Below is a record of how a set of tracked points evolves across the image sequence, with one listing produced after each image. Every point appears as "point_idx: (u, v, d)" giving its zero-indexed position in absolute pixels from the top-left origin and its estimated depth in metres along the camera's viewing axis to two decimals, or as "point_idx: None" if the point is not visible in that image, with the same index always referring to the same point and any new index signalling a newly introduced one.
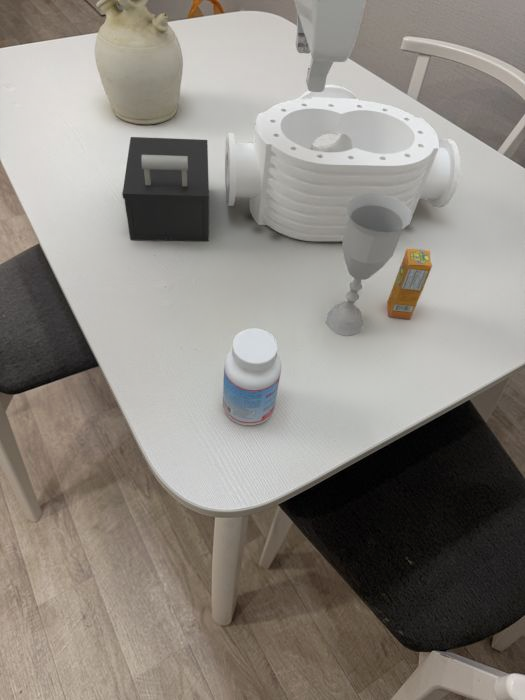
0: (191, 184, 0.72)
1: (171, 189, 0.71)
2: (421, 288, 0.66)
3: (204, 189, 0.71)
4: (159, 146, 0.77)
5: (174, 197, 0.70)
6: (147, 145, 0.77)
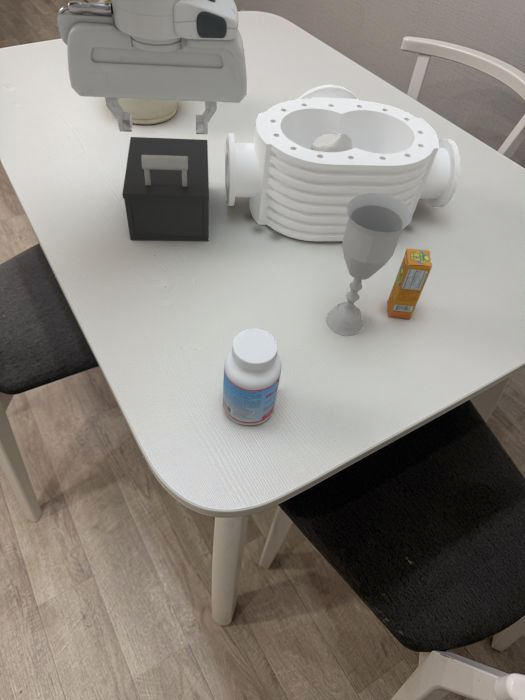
0: (191, 184, 0.72)
1: (171, 189, 0.71)
2: (421, 288, 0.66)
3: (204, 189, 0.71)
4: (159, 146, 0.77)
5: (174, 197, 0.70)
6: (147, 145, 0.77)
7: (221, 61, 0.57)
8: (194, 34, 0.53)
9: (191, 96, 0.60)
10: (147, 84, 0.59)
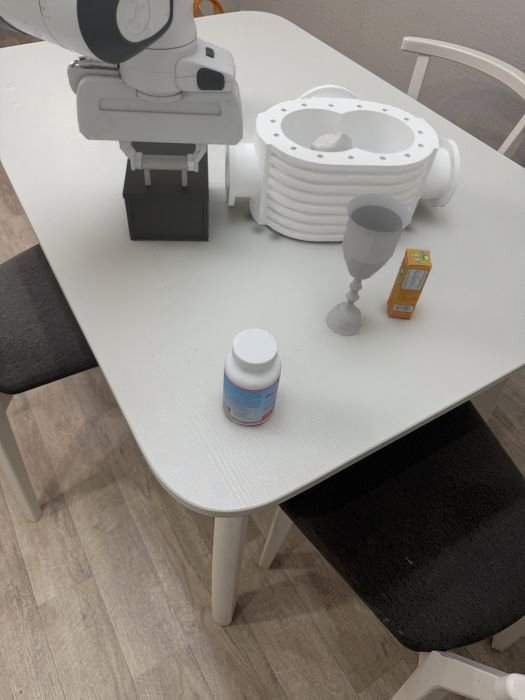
0: (191, 184, 0.72)
1: (171, 188, 0.71)
2: (421, 288, 0.66)
3: (205, 189, 0.71)
4: (159, 146, 0.77)
5: (174, 197, 0.70)
6: (147, 145, 0.77)
7: (219, 109, 0.62)
8: (194, 87, 0.58)
9: (191, 139, 0.64)
10: (150, 129, 0.63)
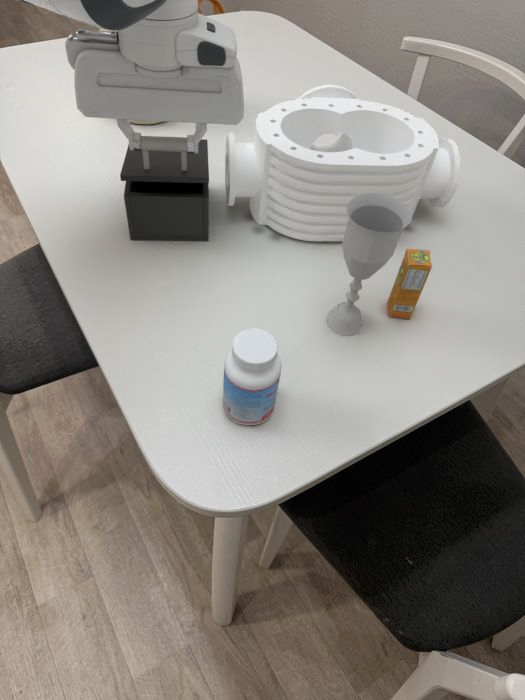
0: (191, 169, 0.70)
1: (170, 172, 0.69)
2: (421, 288, 0.66)
3: (205, 173, 0.70)
4: None
5: (173, 179, 0.68)
6: None
7: (220, 86, 0.61)
8: (195, 62, 0.57)
9: (191, 118, 0.63)
10: (149, 107, 0.62)
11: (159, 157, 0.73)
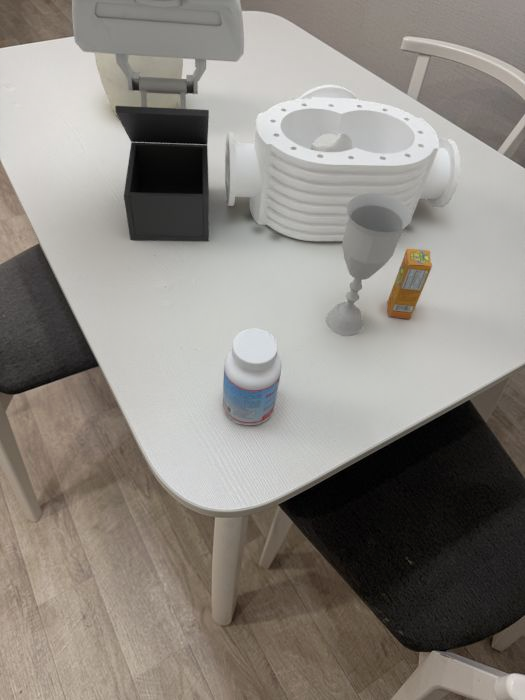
0: None
1: None
2: (421, 288, 0.66)
3: None
4: None
5: (171, 111, 0.65)
6: None
7: (220, 19, 0.60)
8: None
9: (190, 54, 0.62)
10: (148, 41, 0.61)
11: None
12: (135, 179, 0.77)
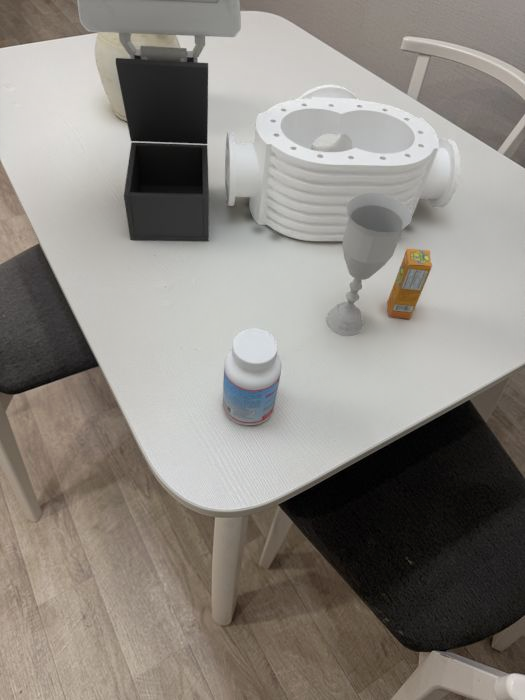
0: None
1: None
2: (421, 288, 0.66)
3: None
4: None
5: (171, 63, 0.65)
6: None
7: None
8: None
9: (190, 31, 0.65)
10: (149, 19, 0.64)
11: None
12: (135, 179, 0.77)
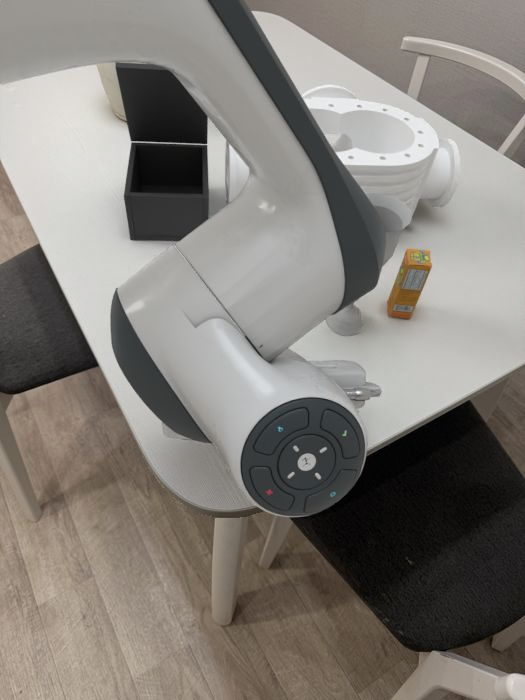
0: None
1: None
2: (421, 288, 0.66)
3: None
4: None
5: None
6: None
7: None
8: None
9: None
10: None
11: None
12: (135, 179, 0.77)
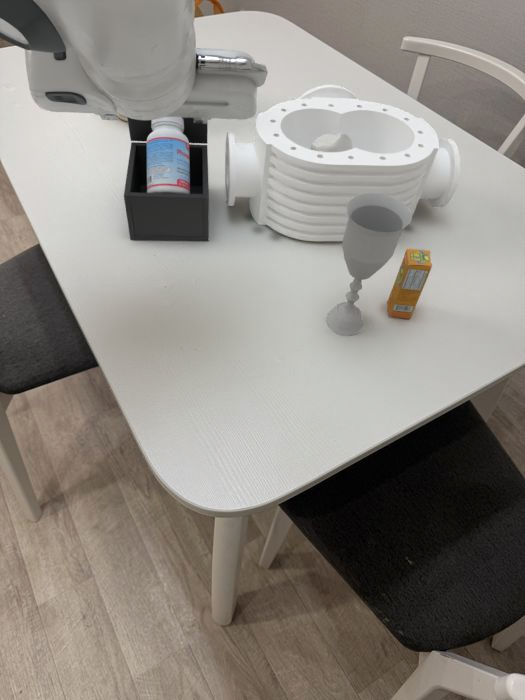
0: None
1: None
2: (421, 288, 0.66)
3: None
4: None
5: None
6: None
7: None
8: None
9: None
10: None
11: None
12: (135, 179, 0.77)
